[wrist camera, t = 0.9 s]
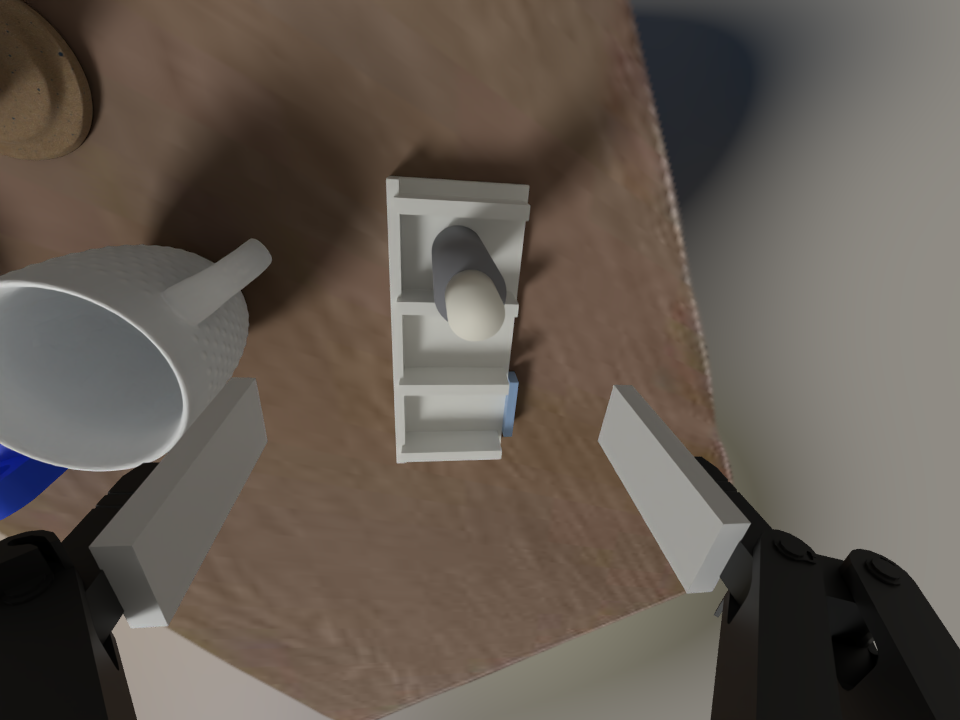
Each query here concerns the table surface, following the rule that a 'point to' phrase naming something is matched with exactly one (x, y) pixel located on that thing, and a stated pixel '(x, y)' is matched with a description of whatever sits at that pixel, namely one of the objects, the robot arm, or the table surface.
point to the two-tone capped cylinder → (467, 284)
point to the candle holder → (39, 88)
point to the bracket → (22, 479)
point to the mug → (118, 350)
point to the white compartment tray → (428, 336)
